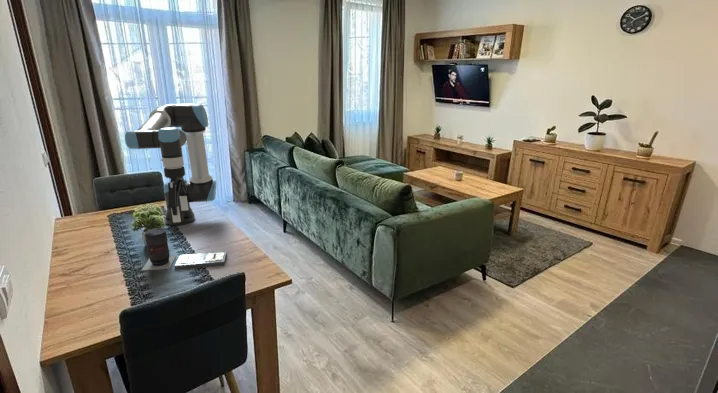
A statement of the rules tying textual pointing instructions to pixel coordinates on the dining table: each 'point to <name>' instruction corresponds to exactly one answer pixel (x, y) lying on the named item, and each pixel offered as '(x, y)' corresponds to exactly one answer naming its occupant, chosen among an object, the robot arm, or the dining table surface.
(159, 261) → the camera lens
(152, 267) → the rubber mat
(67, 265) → the dining table surface
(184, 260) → the psu chassis
